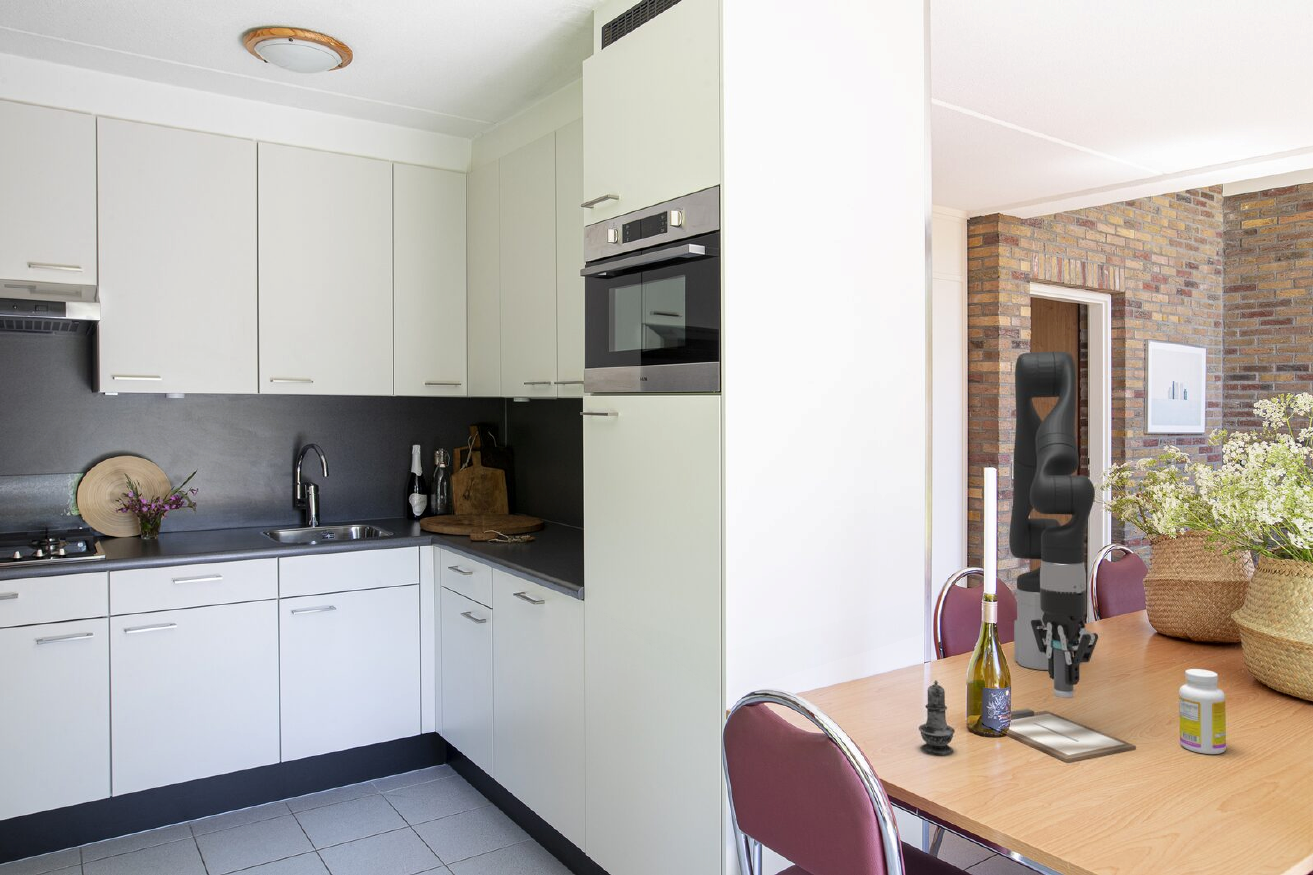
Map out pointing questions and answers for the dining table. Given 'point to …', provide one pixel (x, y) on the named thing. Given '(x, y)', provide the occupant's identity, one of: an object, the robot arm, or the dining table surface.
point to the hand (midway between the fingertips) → (1063, 681)
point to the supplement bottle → (1202, 713)
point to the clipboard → (1062, 736)
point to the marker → (1061, 672)
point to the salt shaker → (936, 724)
